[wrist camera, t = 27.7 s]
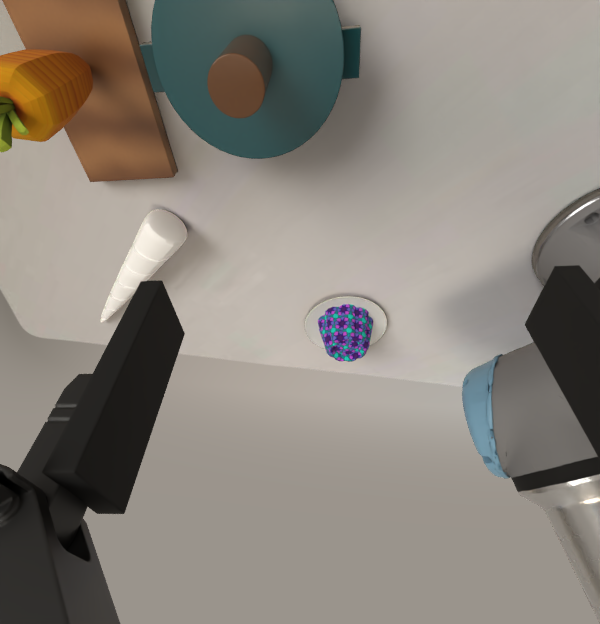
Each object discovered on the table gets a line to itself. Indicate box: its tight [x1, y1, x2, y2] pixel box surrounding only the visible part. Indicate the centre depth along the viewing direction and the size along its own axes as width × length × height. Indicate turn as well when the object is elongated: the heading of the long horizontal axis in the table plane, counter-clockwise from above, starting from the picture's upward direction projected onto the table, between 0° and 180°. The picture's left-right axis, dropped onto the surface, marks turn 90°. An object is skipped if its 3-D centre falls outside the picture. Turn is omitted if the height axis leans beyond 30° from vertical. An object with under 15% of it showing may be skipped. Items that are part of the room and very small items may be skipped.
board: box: [2, 0, 177, 182], centre depth 32 cm, size 20×9×2 cm, turn 4°
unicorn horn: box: [100, 210, 187, 323], centre depth 47 cm, size 5×24×5 cm, turn 136°
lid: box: [151, 0, 344, 159], centre depth 26 cm, size 14×14×7 cm
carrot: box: [0, 49, 93, 152], centre depth 26 cm, size 5×5×15 cm
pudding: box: [304, 296, 387, 362], centre depth 53 cm, size 12×12×5 cm
